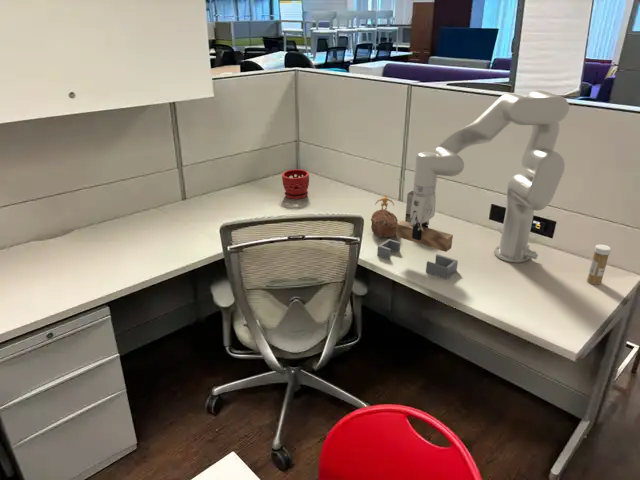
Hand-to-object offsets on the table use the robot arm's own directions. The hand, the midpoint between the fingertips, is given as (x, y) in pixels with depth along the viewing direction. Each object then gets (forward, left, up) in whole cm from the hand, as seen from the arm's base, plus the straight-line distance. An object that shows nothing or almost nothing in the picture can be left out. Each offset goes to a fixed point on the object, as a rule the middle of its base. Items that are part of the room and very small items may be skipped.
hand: (419, 236), depth 176 cm
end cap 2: (-10, 0, -11) cm, 15 cm away
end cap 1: (+12, 0, -11) cm, 16 cm away
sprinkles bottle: (-54, -26, -11) cm, 61 cm away
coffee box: (+16, -28, -11) cm, 34 cm away
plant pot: (+81, -24, -11) cm, 86 cm away
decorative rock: (+23, -14, -11) cm, 29 cm away
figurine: (+31, -26, -11) cm, 42 cm away
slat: (-2, 0, -2) cm, 2 cm away
